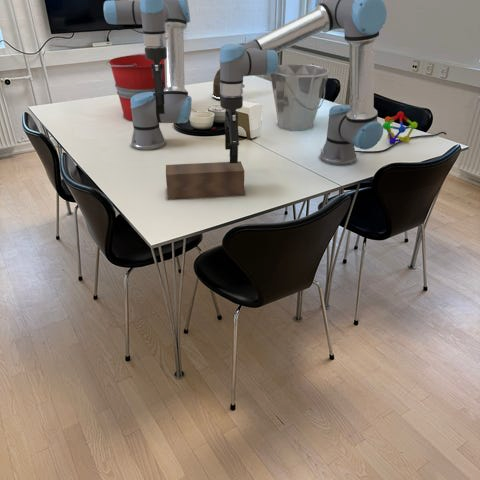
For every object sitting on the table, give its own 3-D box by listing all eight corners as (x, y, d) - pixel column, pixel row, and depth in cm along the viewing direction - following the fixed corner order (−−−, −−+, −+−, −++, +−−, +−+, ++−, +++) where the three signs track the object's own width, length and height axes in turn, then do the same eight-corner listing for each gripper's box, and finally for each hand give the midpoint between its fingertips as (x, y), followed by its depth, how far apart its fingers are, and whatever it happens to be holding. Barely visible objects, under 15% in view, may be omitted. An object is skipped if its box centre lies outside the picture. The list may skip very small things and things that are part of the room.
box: (168, 199, 159) (165, 174, 154) (167, 189, 167) (165, 164, 161) (244, 195, 162) (244, 170, 157) (240, 184, 170) (240, 161, 165)
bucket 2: (296, 138, 215) (301, 78, 201) (255, 124, 234) (256, 68, 219) (335, 125, 232) (342, 70, 217) (294, 113, 251) (297, 61, 236)
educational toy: (377, 146, 209) (379, 114, 202) (384, 138, 219) (386, 107, 211) (411, 149, 202) (415, 116, 195) (417, 141, 212) (420, 109, 204)
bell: (227, 105, 294) (202, 96, 282) (238, 66, 289) (213, 55, 277) (243, 108, 280) (217, 98, 268) (255, 66, 275) (229, 55, 263)
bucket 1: (123, 106, 262) (116, 51, 247) (182, 106, 262) (178, 52, 246) (106, 123, 233) (97, 63, 217) (172, 124, 232) (168, 64, 216)
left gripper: (166, 52, 143) (171, 117, 154) (166, 41, 164) (170, 99, 175) (142, 53, 142) (149, 118, 153) (145, 41, 163) (151, 100, 174)
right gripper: (248, 104, 137) (247, 168, 148) (237, 86, 158) (236, 143, 169) (224, 105, 136) (224, 169, 147) (216, 86, 157) (217, 144, 168)
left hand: (160, 108), depth 164 cm, fingers open, 13 cm apart
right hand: (231, 155), depth 158 cm, fingers open, 13 cm apart
